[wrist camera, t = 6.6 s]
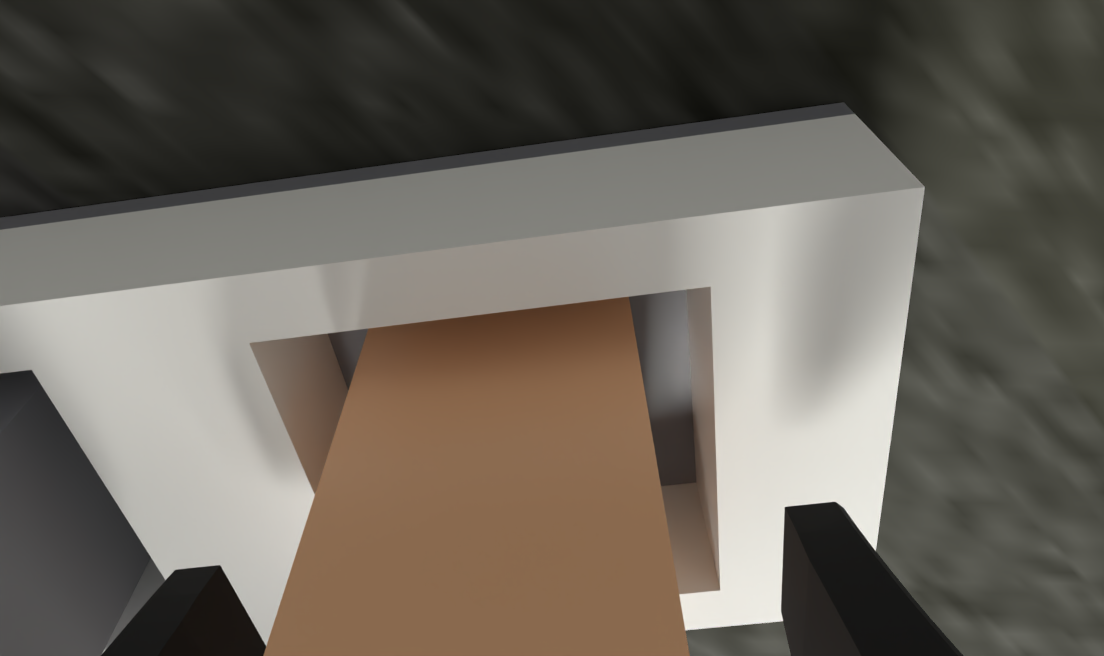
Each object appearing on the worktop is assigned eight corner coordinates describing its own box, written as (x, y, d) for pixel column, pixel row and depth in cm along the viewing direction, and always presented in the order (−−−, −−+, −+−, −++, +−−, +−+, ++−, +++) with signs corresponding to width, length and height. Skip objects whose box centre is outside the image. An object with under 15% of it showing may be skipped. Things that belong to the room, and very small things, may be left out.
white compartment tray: (817, 486, 16) (879, 644, 13) (-101, 582, 18) (-233, 744, 15) (844, 102, 12) (947, 209, 9) (-390, 271, 13) (-665, 413, 10)
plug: (641, 451, 15) (719, 981, 8) (431, 473, 15) (346, 1004, 9) (623, 267, 13) (712, 793, 6) (378, 297, 13) (207, 829, 6)
